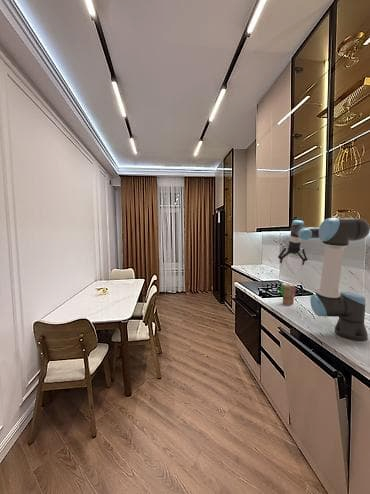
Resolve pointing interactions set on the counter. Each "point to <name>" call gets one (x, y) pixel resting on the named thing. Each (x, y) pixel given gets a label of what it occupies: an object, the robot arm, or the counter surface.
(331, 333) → the counter surface
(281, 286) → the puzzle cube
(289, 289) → the walnut block
